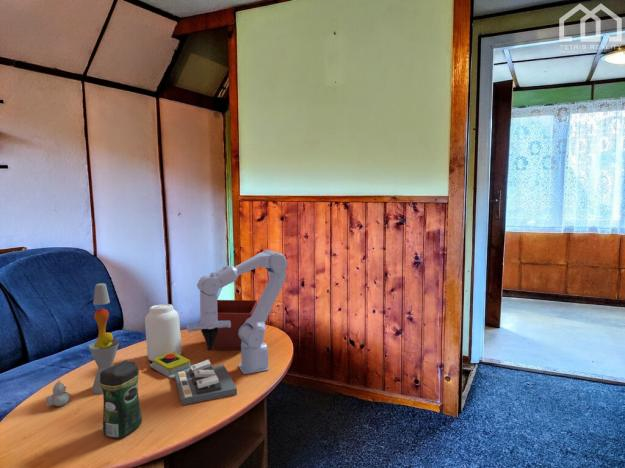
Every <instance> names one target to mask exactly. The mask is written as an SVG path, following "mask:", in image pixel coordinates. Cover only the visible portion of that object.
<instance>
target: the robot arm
mask: <svg viewBox="0 0 625 468" xmlns="http://www.w3.org/2000/svg"><path fill="white" fill-rule="evenodd" d="M288 265H289V263H288V261H287V258H286V256H285V255H284V253H281V252H277V251H273V250H271V249H265V250H263V251H261V252H259V253H257V254H255V255H254V256H252V257H250V258H247V259H246V260H245V261H243V262H241V263H239V264H238V265H235V266H232V265H223V266H222V269H219V270H217V271H214V272H210V275H203V276H201V277H200V278H199V280H198V282H197V283H196V287H197V289H198V290H199V311H200V312H199V313H200V317H199V319H200V320H199V321H200V322H197V323H192V324H189V325H186V331H187V333H192V332H199V331H201V333H202V336H203V338H204V340H205V344H206V349H207V351H213V349H214V348H213V343H214V340H215V338H216V336H217V334H218V328H223V327H231V322H230V320H228V321H218V312H217V300H218V292H219V291H220V289H221V288H224V287H226V286H228V285H230V284H232V283H234V282H237V280H238V277H239V276H240V275H243V274H246V273H247V272H249V271H253V270H255V269H256V268H265V269H266V271H267V273H268V276H269V279H268V281H267V283H266V286H265V288H264V290H263V291H262V294H261V296H260V298H259V300H258V301H257V306H256V308H255V310H254V312H253V314H252V316H251V317H250V318H248V319H247V320H246V322H245V323H244V325H242V326H241V327H240V329H239V332H238V335H239V338H240V339H241V340H242V342H241V350H240V358H241V360H240V361H241V363H240V364H238V368H239V370H240V371H241V373H242V374H243V375H248V374H254V373H259V372H264V371H269V370H270V369H269V368H270V367H269V349H268V345H267V343H266V342H264V339H265V333H266V330H267V328H266V321H267V319H268V317H269V315H270V313H271V310H272V309H273V307H274V304H275V302H276V300H277V298H278V296H279V293H280V292H281V290H282V288H283V285H284V283H285V282H286V278H287V275H286V274H287V266H288Z"/></svg>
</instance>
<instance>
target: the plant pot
mask: <svg viewBox="0 0 625 468" xmlns="http://www.w3.org/2000/svg"><path fill="white" fill-rule="evenodd" d="M257 304H258V301H257V300H255V299H254V300H253V299H241V300H240V299H217V312H218V321H228V320H230V322H231V327H223V328H218V334H217V336H216V338H215V340H214V343H213V348H212V349H214V351H241V342H242V340H241V339H240V338H239V335H238V332H239V329H240V327H241V326H242V325H244V323H245V322H246V320H247V319H248V318H250V317H251V316H252V314H253V312H254V310H255V308H256V306H257Z"/></svg>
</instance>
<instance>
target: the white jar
mask: <svg viewBox="0 0 625 468" xmlns="http://www.w3.org/2000/svg"><path fill="white" fill-rule="evenodd" d="M144 325H145V326H144V327H145V339H146V340H145V341H146V352H147V358H148V360H149V361H151V362H153V358H156V357H159V356H162V355H165V354H168V353H172V352H175V353H177V354H179V355H181V354H182V339H181V337H182V336H181V324H180V315H179V313H178V311H177V310H176V309H174V305H173V304H170V303H161V304H156V305H152V306H150V307H149V312H148V313H147V314H146V315H145V317H144Z"/></svg>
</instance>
